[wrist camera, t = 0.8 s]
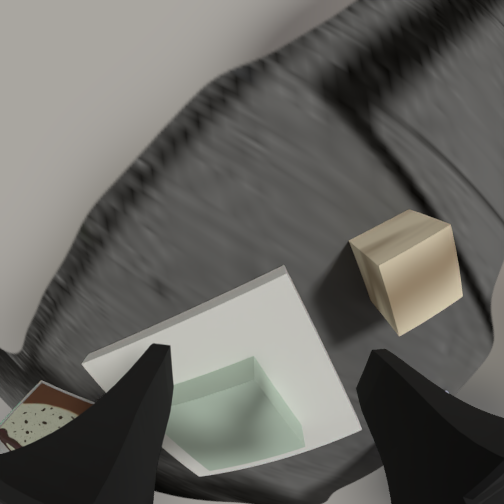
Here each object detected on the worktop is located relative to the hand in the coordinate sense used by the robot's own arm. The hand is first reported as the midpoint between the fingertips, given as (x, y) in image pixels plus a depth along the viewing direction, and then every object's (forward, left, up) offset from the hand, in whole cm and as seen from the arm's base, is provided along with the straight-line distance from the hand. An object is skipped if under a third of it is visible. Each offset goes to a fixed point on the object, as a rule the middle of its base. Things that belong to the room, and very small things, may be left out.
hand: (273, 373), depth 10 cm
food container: (-6, +24, -10) cm, 27 cm away
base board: (-9, +7, -10) cm, 15 cm away
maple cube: (-3, -9, -10) cm, 14 cm away
